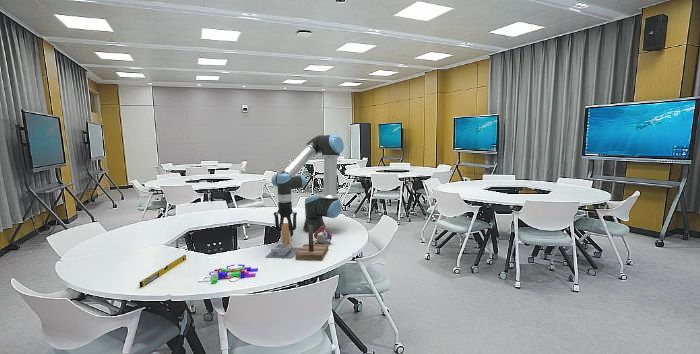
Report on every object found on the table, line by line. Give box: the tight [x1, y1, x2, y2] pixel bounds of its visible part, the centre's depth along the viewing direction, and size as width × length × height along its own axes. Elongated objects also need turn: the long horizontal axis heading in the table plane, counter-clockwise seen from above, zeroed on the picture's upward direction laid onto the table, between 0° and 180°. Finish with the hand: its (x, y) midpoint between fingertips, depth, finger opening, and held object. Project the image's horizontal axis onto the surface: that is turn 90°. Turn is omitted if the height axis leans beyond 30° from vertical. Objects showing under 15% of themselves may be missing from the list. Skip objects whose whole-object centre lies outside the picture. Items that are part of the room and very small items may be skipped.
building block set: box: [197, 263, 259, 285], centre depth 161 cm, size 25×20×4 cm
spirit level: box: [139, 254, 187, 288], centre depth 164 cm, size 33×1×3 cm, turn 175°
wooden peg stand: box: [294, 225, 329, 262], centre depth 183 cm, size 17×14×17 cm
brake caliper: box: [313, 226, 333, 246], centre depth 201 cm, size 11×11×12 cm
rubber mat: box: [264, 247, 301, 259], centre depth 188 cm, size 16×15×1 cm
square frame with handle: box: [270, 222, 293, 252], centre depth 188 cm, size 14×9×12 cm, turn 172°
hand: (286, 241), depth 194 cm, fingers closed on square frame with handle, 4 cm apart
